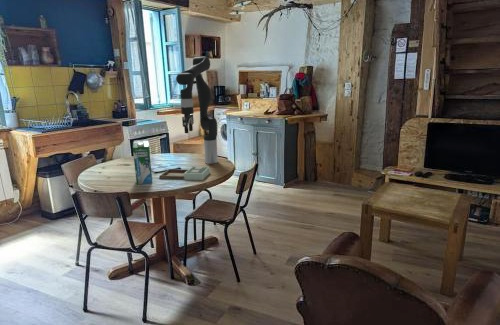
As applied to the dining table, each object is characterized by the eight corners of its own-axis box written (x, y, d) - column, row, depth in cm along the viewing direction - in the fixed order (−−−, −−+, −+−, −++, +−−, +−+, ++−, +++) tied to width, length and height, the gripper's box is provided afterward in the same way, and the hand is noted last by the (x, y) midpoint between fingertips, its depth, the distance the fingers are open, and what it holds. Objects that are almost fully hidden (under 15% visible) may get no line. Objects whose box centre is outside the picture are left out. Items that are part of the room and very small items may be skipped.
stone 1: (193, 176, 221) (192, 169, 220) (200, 176, 220) (199, 169, 219) (191, 178, 216) (190, 171, 215) (198, 178, 216) (197, 171, 215)
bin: (192, 173, 230) (192, 166, 229) (209, 173, 229) (209, 167, 227) (184, 180, 215) (183, 173, 214) (202, 180, 213) (202, 173, 212)
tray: (169, 172, 233) (168, 169, 233) (192, 173, 231) (191, 169, 230) (159, 179, 218) (159, 175, 218) (184, 180, 216) (183, 176, 215)
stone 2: (196, 173, 227) (196, 167, 226) (203, 173, 227) (203, 167, 226) (194, 175, 223) (194, 168, 222) (201, 175, 222) (201, 168, 221)
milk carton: (136, 185, 208) (132, 143, 202) (137, 181, 217) (133, 141, 211) (152, 183, 210) (148, 142, 204) (152, 179, 219) (148, 140, 213)
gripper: (185, 105, 224) (186, 130, 228) (177, 107, 210) (179, 133, 214) (196, 105, 223) (197, 130, 226) (189, 107, 209) (190, 133, 213)
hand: (188, 132), depth 220 cm, fingers open, 8 cm apart
